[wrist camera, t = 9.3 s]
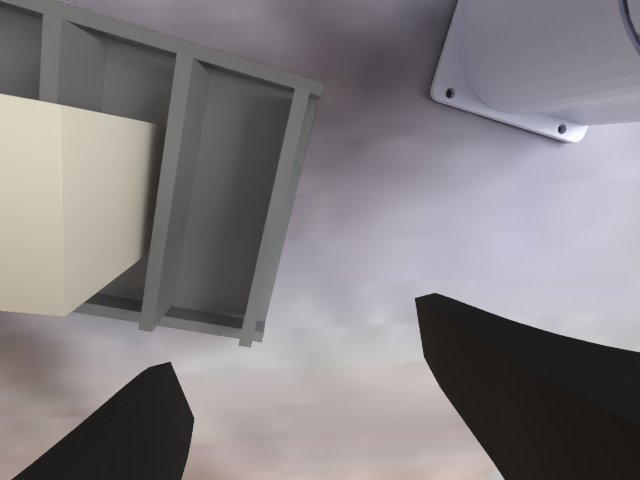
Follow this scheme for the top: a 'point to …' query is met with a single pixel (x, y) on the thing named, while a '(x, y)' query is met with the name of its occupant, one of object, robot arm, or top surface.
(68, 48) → the dish rack
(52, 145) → the cream rectangular block
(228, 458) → the top surface
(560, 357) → the robot arm
